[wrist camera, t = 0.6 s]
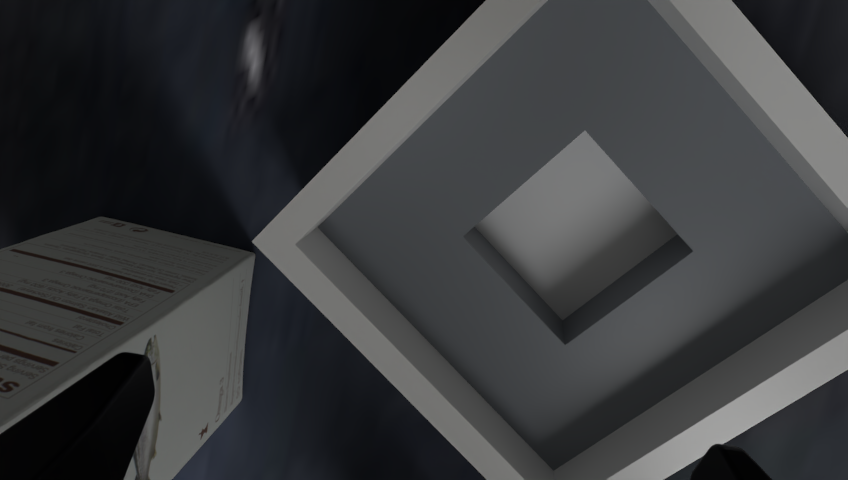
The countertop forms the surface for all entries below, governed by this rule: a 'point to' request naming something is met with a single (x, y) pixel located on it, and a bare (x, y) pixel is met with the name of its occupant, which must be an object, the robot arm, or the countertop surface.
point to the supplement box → (127, 327)
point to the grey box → (587, 237)
